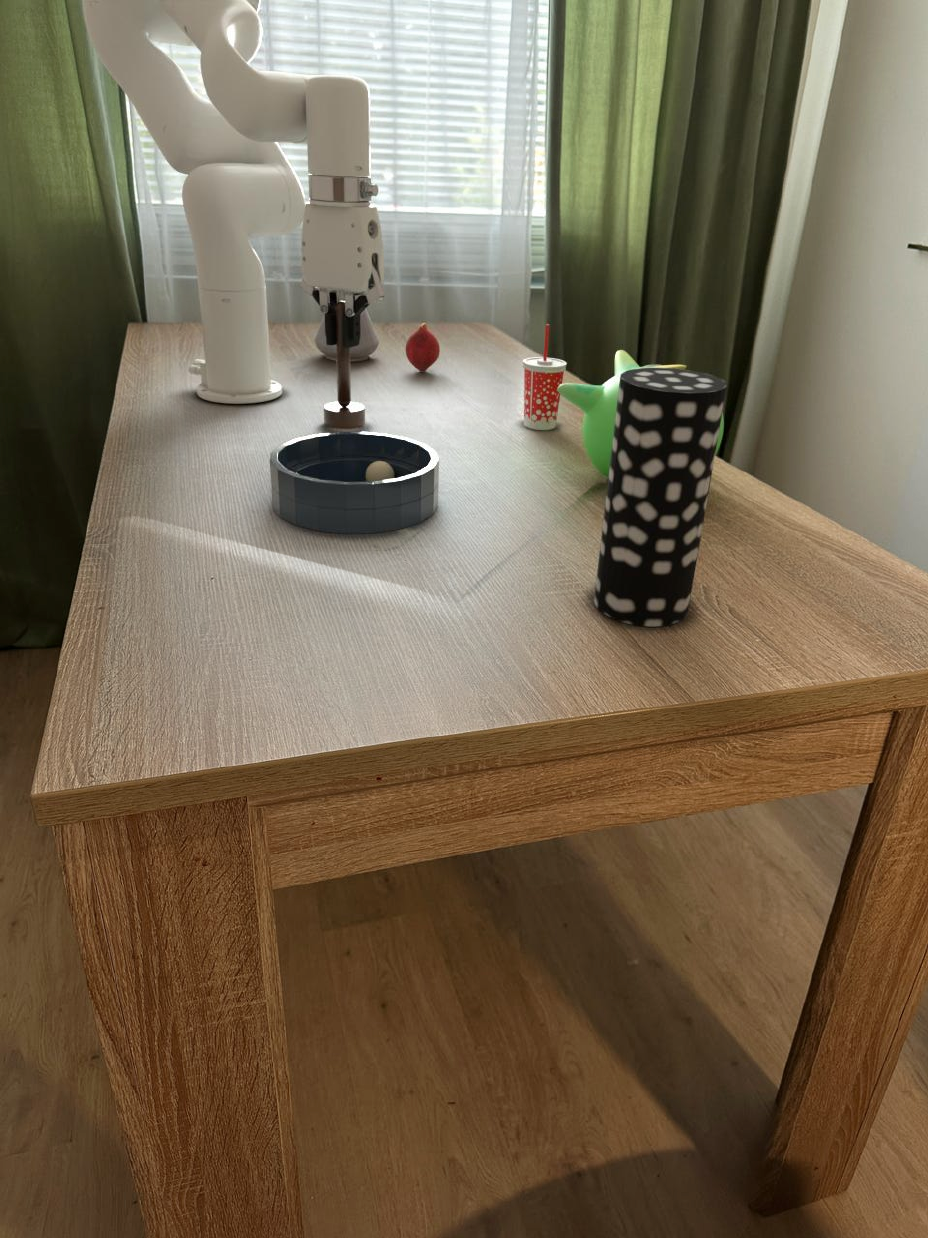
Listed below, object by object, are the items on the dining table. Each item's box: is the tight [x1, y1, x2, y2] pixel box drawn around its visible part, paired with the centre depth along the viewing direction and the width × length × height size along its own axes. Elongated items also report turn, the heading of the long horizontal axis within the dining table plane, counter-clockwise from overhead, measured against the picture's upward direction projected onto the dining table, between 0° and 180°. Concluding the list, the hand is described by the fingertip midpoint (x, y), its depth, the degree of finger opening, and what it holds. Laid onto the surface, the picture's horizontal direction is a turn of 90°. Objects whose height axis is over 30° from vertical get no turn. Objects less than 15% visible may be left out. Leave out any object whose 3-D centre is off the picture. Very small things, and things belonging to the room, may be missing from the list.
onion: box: [405, 322, 441, 373], centre depth 157 cm, size 6×6×8 cm
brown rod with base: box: [323, 301, 366, 430], centre depth 123 cm, size 6×6×17 cm
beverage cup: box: [522, 323, 568, 431], centre depth 129 cm, size 6×6×14 cm
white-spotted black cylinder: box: [593, 368, 728, 627], centre depth 77 cm, size 8×8×20 cm
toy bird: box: [558, 349, 725, 479], centre depth 108 cm, size 18×17×15 cm
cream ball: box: [366, 461, 394, 482], centre depth 103 cm, size 3×3×3 cm
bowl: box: [269, 431, 440, 535], centre depth 99 cm, size 18×18×6 cm
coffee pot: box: [314, 290, 380, 362], centre depth 167 cm, size 21×12×15 cm, turn 20°
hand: (343, 344), depth 122 cm, fingers closed on brown rod with base
